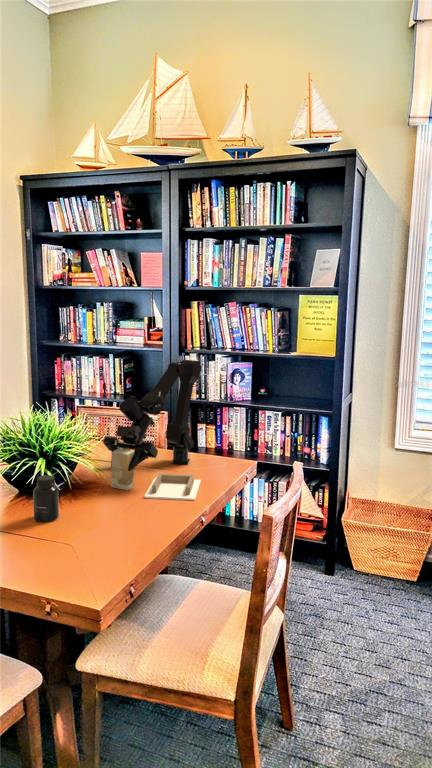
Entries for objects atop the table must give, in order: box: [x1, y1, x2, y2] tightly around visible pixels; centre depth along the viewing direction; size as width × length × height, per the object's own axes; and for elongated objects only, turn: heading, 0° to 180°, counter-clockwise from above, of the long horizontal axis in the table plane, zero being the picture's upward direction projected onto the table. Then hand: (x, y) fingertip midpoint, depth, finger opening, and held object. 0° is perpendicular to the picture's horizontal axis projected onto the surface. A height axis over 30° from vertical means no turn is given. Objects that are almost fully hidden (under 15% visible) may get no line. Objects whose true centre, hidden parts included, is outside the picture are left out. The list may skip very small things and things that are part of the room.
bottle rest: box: [143, 473, 202, 501], centre depth 182 cm, size 18×16×3 cm
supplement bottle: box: [32, 474, 60, 524], centre depth 156 cm, size 7×7×12 cm
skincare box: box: [110, 449, 135, 491], centre depth 182 cm, size 6×4×12 cm
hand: (120, 469), depth 181 cm, fingers closed on skincare box, 6 cm apart
